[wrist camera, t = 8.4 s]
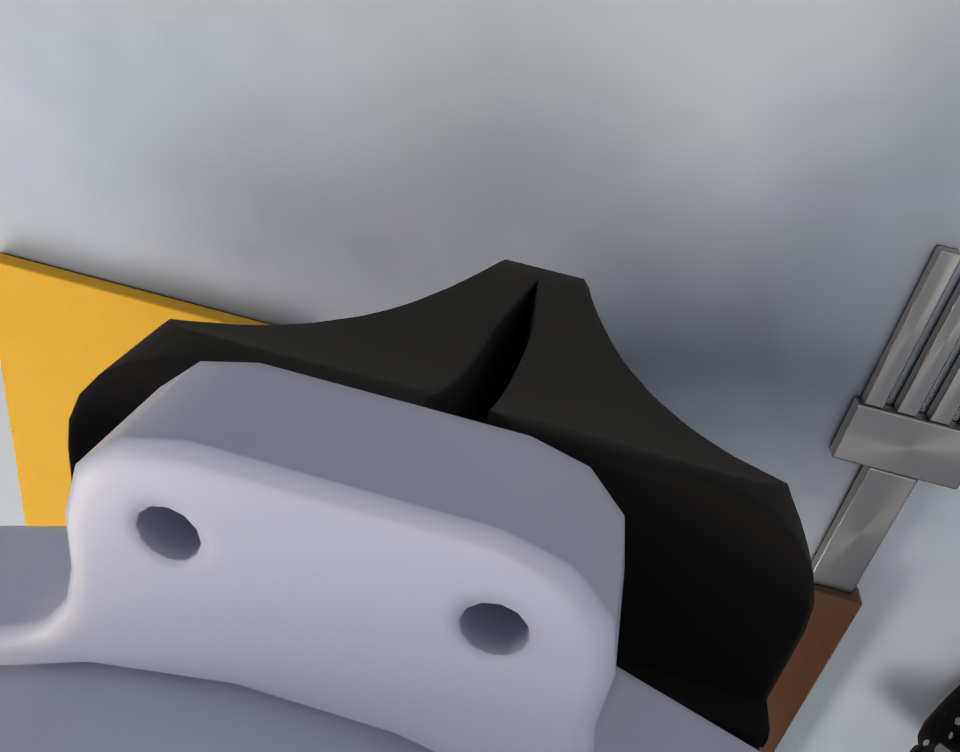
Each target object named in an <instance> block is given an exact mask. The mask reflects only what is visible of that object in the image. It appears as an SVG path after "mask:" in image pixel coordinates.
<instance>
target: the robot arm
mask: <svg viewBox="0 0 960 752" xmlns="http://www.w3.org/2000/svg"><path fill="white" fill-rule="evenodd" d="M68 453H69V462H70V470H71V479H72V482H71V487H70V491H69V496H68V500H67V504H66V509H65V518H66V526H0V752H760V751H759V747H761V748H763V747H764V745H765V744H766V742H767V740H768V737H769V731H770V726H769V716H768V707H767V698H768V697H769V695H770V693H771V691H772V689H773V688H774V686H775V684H776V682H777V681H778V679H779V677H780V675H781V673H782V672H783V670H784V668H785V666H786V665H787V663H788V661H789V659H790V657H791V656H792V654H793V652H794V650H795V649H796V647H797V645H798V643H799V641H800V640H801V638H802V636H803V634H804V633H805V630H806V627H807V624H808V622H809V619H810V616H811V613H812V610H813V607H814V604H815V601H814V574H813V569H812V564H811V559H810V554H809V549H808V545H807V541H806V537H805V534H804V531H803V527H802V524H801V520H800V518H799V515H798V512H797V510H796V507H795V504H794V502H793V499H792V496H791V493H790V490H789V487H788V484H787V483H785V482H783V481H781V480H779V479H777V478H775V477H773V476H771V475H769V474H767V473H765V472H763V471H761V470H759V469H757V468H755V467H753V466H751V465H749V464H748V463H746V462H744V461H742V460H740V459H738V458H736V457H734V456H732V455H730V454H729V453H727V452H726V451H724V450H722V449H721V448H719V447H718V446H716V445H715V444H713V443H712V442H710V441H709V440H707V439H706V438H704V437H702V436H701V435H700V434H698V433H697V432H695V431H694V430H693V429H691V428H690V427H689V426H687V425H686V424H685V423H683V422H682V421H681V420H680V419H679V418H677V417H676V416H675V415H674V414H673V413H672V412H670V411H669V410H668V409H667V408H666V407H665V406H663V405H662V404H661V403H660V402H659V401H658V400H657V399H656V398H655V397H654V396H653V395H652V394H651V393H650V392H649V391H648V390H647V389H646V388H645V387H644V385H643V384H642V383H641V382H640V381H639V380H638V379H637V377H636V376H635V375H634V374H633V373H632V372H631V371H630V369H629V368H628V367H627V365H626V364H625V363H624V361H623V360H622V358H621V357H620V355H619V354H618V352H617V351H616V349H615V348H614V346H613V344H612V342H611V341H610V339H609V337H608V335H607V333H606V331H605V329H604V327H603V325H602V323H601V321H600V318H599V316H598V314H597V311H596V309H595V306H594V304H593V301H592V298H591V294H590V291H589V287H588V285H587V283H586V282H585V280H584V279H581V278H577V277H573V276H569V275H565V274H561V273H557V272H553V271H549V270H545V269H541V268H537V267H533V266H529V265H525V264H522V263H518V262H514V261H510V260H503V261H501V262H499V263H497V264H495V265H493V266H492V267H490V268H488V269H486V270H484V271H482V272H480V273H478V274H476V275H474V276H472V277H470V278H468V279H466V280H464V281H462V282H460V283H458V284H456V285H454V286H452V287H450V288H447V289H445V290H442V291H440V292H437V293H435V294H432V295H430V296H427V297H425V298H422V299H420V300H417V301H415V302H412V303H409V304H406V305H403V306H400V307H397V308H393V309H389V310H385V311H381V312H377V313H373V314H369V315H364V316H359V317H353V318H345V319H338V320H331V321H324V322H316V323H306V324H287V325H238V324H225V323H212V322H198V321H185V320H177V319H169V320H168V321H166V322H165V323H164V324H162V325H161V326H159V327H158V328H157V329H156V330H154V331H153V332H152V333H151V334H149V335H148V336H147V337H145V338H144V339H143V340H142V341H140V342H139V343H138V344H137V345H135V346H134V347H133V348H132V349H130V350H129V351H128V352H127V353H125V354H124V355H123V356H122V357H120V358H119V359H118V360H117V361H115V362H114V363H113V364H112V365H110V366H109V367H108V368H107V369H105V370H104V371H103V372H102V373H100V374H99V375H98V376H97V377H96V378H95V379H94V380H93V381H92V382H91V383H90V384H89V385H88V386H87V387H86V388H85V389H84V390H83V391H82V392H81V393H80V394H79V396H78V399H77V401H76V404H75V406H74V408H73V411H72V413H71V416H70V418H69V431H68Z"/></svg>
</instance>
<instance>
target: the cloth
mask: <svg viewBox="0 0 960 752" xmlns="http://www.w3.org/2000/svg"><path fill="white" fill-rule="evenodd" d="M169 319H177V320H185V321H198V322H212V323H225V324H238V325H269V324H266V323H262V322H258V321H254V320H251V319H247V318H243V317H239V316H236V315H232V314H228V313H224V312H220V311H217V310H213V309H209V308H205V307H202V306H198V305H194V304H190V303H187V302H183V301H179V300H175V299H171V298H168V297H164V296H160V295H156V294H153V293H149V292H145V291H141V290H138V289H134V288H130V287H126V286H122V285H119V284H115V283H111V282H107V281H104V280H100V279H96V278H92V277H89V276H85V275H81V274H77V273H73V272H70V271H66V270H62V269H58V268H55V267H51V266H47V265H43V264H40V263H36V262H32V261H28V260H24V259H21V258H17V257H13V256H9V255H6V254H2V253H0V363H1V369H2V375H3V382H4V388H5V395H6V401H7V407H8V414H9V420H10V427H11V433H12V439H13V446H14V452H15V459H16V465H17V471H18V478H19V484H20V491H21V497H22V503H23V510H24V516H25V523H26V526H66V518H65V509H66V504H67V500H68V496H69V491H70V487H71V482H72V479H71V470H70V462H69V453H68V431H69V418H70V416H71V413H72V411H73V408H74V406H75V404H76V401H77V399H78V396H79V394H80V393H81V392H82V391H83V390H84V389H85V388H86V387H87V386H88V385H89V384H90V383H91V382H92V381H93V380H94V379H95V378H96V377H97V376H98V375H99V374H100V373H102V372H103V371H104V370H105V369H107V368H108V367H109V366H110V365H112V364H113V363H114V362H115V361H117V360H118V359H119V358H120V357H122V356H123V355H124V354H125V353H127V352H128V351H129V350H130V349H132V348H133V347H134V346H135V345H137V344H138V343H139V342H140V341H142V340H143V339H144V338H145V337H147V336H148V335H149V334H151V333H152V332H153V331H154V330H156V329H157V328H158V327H159V326H161V325H162V324H164V323H165V322H166V321H168V320H169Z"/></svg>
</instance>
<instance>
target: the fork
mask: <svg viewBox="0 0 960 752" xmlns="http://www.w3.org/2000/svg"><path fill="white" fill-rule="evenodd" d="M959 262H960V251H959V250H956V249H951V248H947V247H943V246H937V247H936V249H935V251H934V253H933V255H932V257H931V259H930V261H929V263H928V265H927V267H926V269H925V271H924V273H923V275H922V277H921V279H920V281H919V283H918V285H917V287H916V289H915V291H914V293H913V295H912V297H911V299H910V301H909V303H908V305H907V307H906V309H905V311H904V313H903V315H902V317H901V319H900V321H899V323H898V325H897V327H896V329H895V331H894V333H893V335H892V337H891V339H890V341H889V343H888V345H887V347H886V349H885V351H884V353H883V355H882V357H881V359H880V361H879V363H878V365H877V367H876V369H875V371H874V373H873V375H872V377H871V379H870V381H869V383H868V385H867V387H866V389H865V391H864V393H863V395H862V397H861V398H858V397H855V398H854V400H853V402H852V404H851V406H850V408H849V410H848V412H847V414H846V416H845V418H844V420H843V422H842V424H841V426H840V428H839V430H838V432H837V434H836V436H835V439H834V441H833V443H832V445H831V447H830V452H831V455H832V457H835V458H838V459H842V460H846V461H850V462H854V463H857V464H861V465H863V467H862V469H861V470H860V472H859V474H858V476H857V478H856V480H855V482H854V484H853V485H852V487H851V489H850V491H849V493H848V495H847V497H846V499H845V501H844V502H843V504H842V506H841V508H840V510H839V512H838V514H837V516H836V517H835V519H834V521H833V523H832V525H831V527H830V529H829V531H828V532H827V534H826V536H825V538H824V540H823V542H822V544H821V546H820V548H819V549H818V551H817V553H816V555H815V557H814V559H813V561H812V563H811V564H812V569H813V574H814V601H815V604H814V607H813V610H812V613H811V616H810V619H809V622H808V624H807V627H806V630H805V633H804V634H803V636H802V638H801V640H800V641H799V643H798V645H797V647H796V649H795V650H794V652H793V654H792V656H791V657H790V659H789V661H788V663H787V665H786V666H785V668H784V670H783V672H782V673H781V675H780V677H779V679H778V681H777V682H776V684H775V686H774V688H773V689H772V691H771V693H770V695H769V697H768V698H767V707H768V716H769V726H770V731H769V737H768V740H767V742H766V744H765V745H764V747H763V748H761V747H759V751H760V752H774V751H775V749H776V747H777V746H778V744H779V742H780V741H781V739H782V737H783V736H784V734H785V732H786V731H787V729H788V727H789V726H790V724H791V722H792V721H793V719H794V717H795V716H796V714H797V712H798V711H799V709H800V707H801V705H802V704H803V702H804V700H805V699H806V697H807V695H808V694H809V692H810V690H811V689H812V687H813V685H814V684H815V682H816V680H817V679H818V677H819V675H820V674H821V672H822V670H823V669H824V667H825V665H826V664H827V662H828V660H829V659H830V657H831V655H832V654H833V652H834V650H835V649H836V647H837V645H838V644H839V642H840V640H841V639H842V637H843V635H844V634H845V632H846V630H847V629H848V627H849V625H850V624H851V622H852V620H853V619H854V617H855V615H856V614H857V612H858V610H859V609H860V607H861V605H862V602H861V598H860V594H859V590H858V588H856V585H857V583H858V582H859V580H860V578H861V576H862V575H863V573H864V571H865V570H866V568H867V566H868V564H869V563H870V561H871V559H872V558H873V556H874V554H875V552H876V551H877V549H878V547H879V546H880V544H881V542H882V540H883V539H884V537H885V535H886V534H887V532H888V530H889V528H890V527H891V525H892V523H893V522H894V520H895V518H896V516H897V515H898V513H899V511H900V510H901V508H902V506H903V504H904V503H905V501H906V499H907V498H908V496H909V494H910V492H911V491H912V489H913V487H914V485H915V484H916V482H917V479H918V480H922V481H926V482H930V483H933V484H937V485H941V486H945V487H949V488H952V489H957V488H958V487H959V485H960V424H959V423H960V422H959V423H955V422H951V421H952V420H953V418H954V416H955V414H956V413H957V411H958V409H959V408H960V354H959V356H958V358H957V360H956V362H955V363H954V365H953V367H952V369H951V370H950V372H949V374H948V376H947V378H946V379H945V381H944V383H943V385H942V387H941V388H940V390H939V392H938V394H937V395H936V397H935V399H934V401H933V403H932V404H931V406H930V408H929V410H928V412H927V414H926V415H924V414H920V413H918V412H919V410H920V409H921V407H922V405H923V403H924V401H925V399H926V398H927V396H928V394H929V392H930V390H931V389H932V387H933V385H934V383H935V381H936V380H937V378H938V376H939V374H940V372H941V371H942V369H943V367H944V365H945V363H946V361H947V360H948V358H949V356H950V354H951V352H952V351H953V349H954V347H955V345H956V343H957V342H958V340H959V338H960V281H959V283H958V285H957V287H956V289H955V291H954V293H953V295H952V296H951V298H950V300H949V302H948V304H947V306H946V308H945V310H944V311H943V313H942V315H941V317H940V319H939V321H938V323H937V325H936V327H935V328H934V330H933V332H932V334H931V336H930V338H929V340H928V342H927V343H926V345H925V347H924V349H923V351H922V353H921V355H920V357H919V359H918V360H917V362H916V364H915V366H914V368H913V370H912V372H911V374H910V376H909V377H908V379H907V381H906V383H905V385H904V387H903V389H902V391H901V392H900V394H899V396H898V398H897V400H896V402H895V404H894V407H893V406H889V405H885V403H886V402H887V400H888V398H889V396H890V394H891V392H892V390H893V388H894V386H895V384H896V382H897V381H898V379H899V377H900V375H901V373H902V371H903V369H904V367H905V365H906V363H907V361H908V360H909V358H910V356H911V354H912V352H913V350H914V348H915V346H916V344H917V342H918V340H919V339H920V337H921V335H922V333H923V331H924V329H925V327H926V325H927V323H928V321H929V319H930V318H931V316H932V314H933V312H934V310H935V308H936V306H937V304H938V302H939V300H940V298H941V297H942V295H943V293H944V291H945V289H946V287H947V285H948V283H949V281H950V279H951V277H952V276H953V274H954V272H955V270H956V268H957V266H958V264H959Z"/></svg>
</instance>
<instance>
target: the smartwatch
mask: <svg viewBox="0 0 960 752" xmlns="http://www.w3.org/2000/svg"><path fill="white" fill-rule="evenodd" d="M957 717H960V685H959V686H958V687H957V688H956V689H955V690H954V691H953V692H952V693H951V694H950V695H949V696H948V697H947V698H946V699H945V700H944V701H943V702H942V703H941V704H940V705H939V706H938V707H937V708H936V709H935V711H934V712H933V713H932V714H931V715H930V716H929V717H928V718H927V719H926V721H925V722H924V724H923V726H922V727H921V729H920V731H919V733H918V745H916V746H914V747H913V748H912V749H911V750H910V752H960V725H956V724H954V723H955V718H957ZM950 732H952V733H953V737H952V739H949V737H948V736H949V733H950Z"/></svg>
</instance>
